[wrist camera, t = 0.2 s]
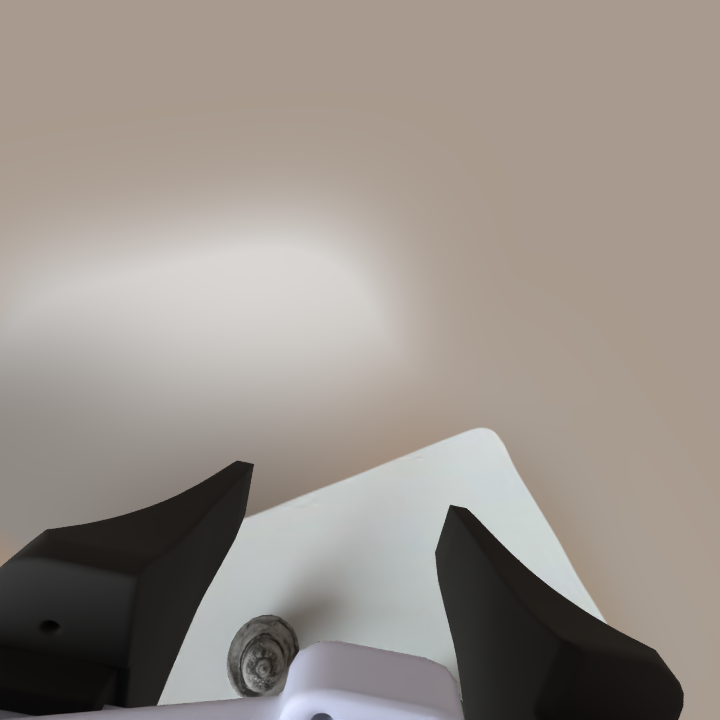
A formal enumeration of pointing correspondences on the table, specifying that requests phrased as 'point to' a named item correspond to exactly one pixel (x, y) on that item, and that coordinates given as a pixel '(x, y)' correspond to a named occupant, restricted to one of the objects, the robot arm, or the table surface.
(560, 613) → the robot arm
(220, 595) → the table surface
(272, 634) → the salt shaker
